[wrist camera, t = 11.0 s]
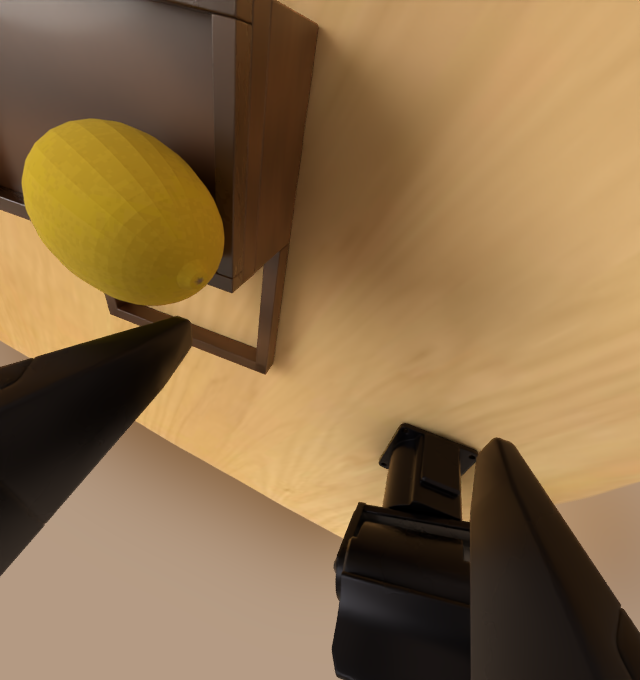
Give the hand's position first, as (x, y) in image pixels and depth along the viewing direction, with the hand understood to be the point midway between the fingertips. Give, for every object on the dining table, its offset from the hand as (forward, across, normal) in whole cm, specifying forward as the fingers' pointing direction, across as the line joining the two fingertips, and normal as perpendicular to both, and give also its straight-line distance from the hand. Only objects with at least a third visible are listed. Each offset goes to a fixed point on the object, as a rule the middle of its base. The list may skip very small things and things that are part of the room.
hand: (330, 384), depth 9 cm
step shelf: (+12, +13, +2) cm, 18 cm away
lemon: (+4, +13, -2) cm, 14 cm away
